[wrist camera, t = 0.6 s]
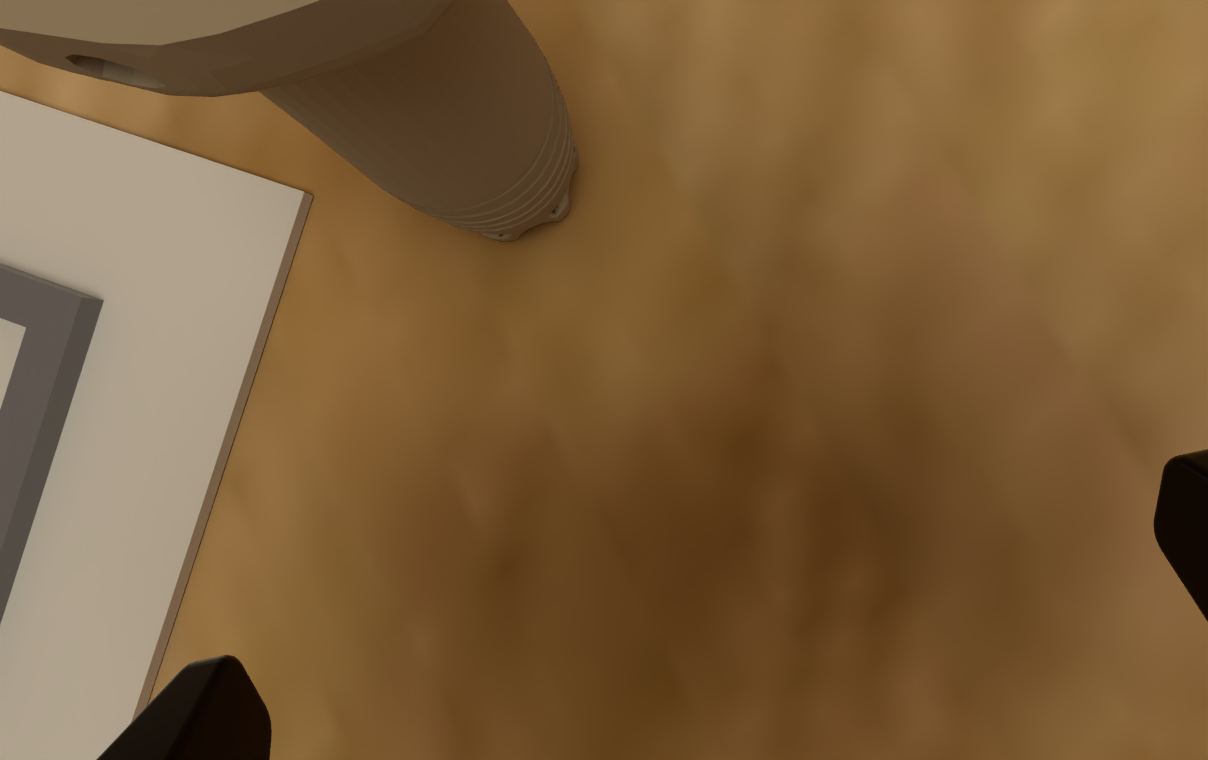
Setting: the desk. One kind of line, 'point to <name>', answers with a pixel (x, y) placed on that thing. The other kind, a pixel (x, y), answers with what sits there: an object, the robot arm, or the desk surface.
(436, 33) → the handle
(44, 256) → the socket plate
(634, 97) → the desk surface
